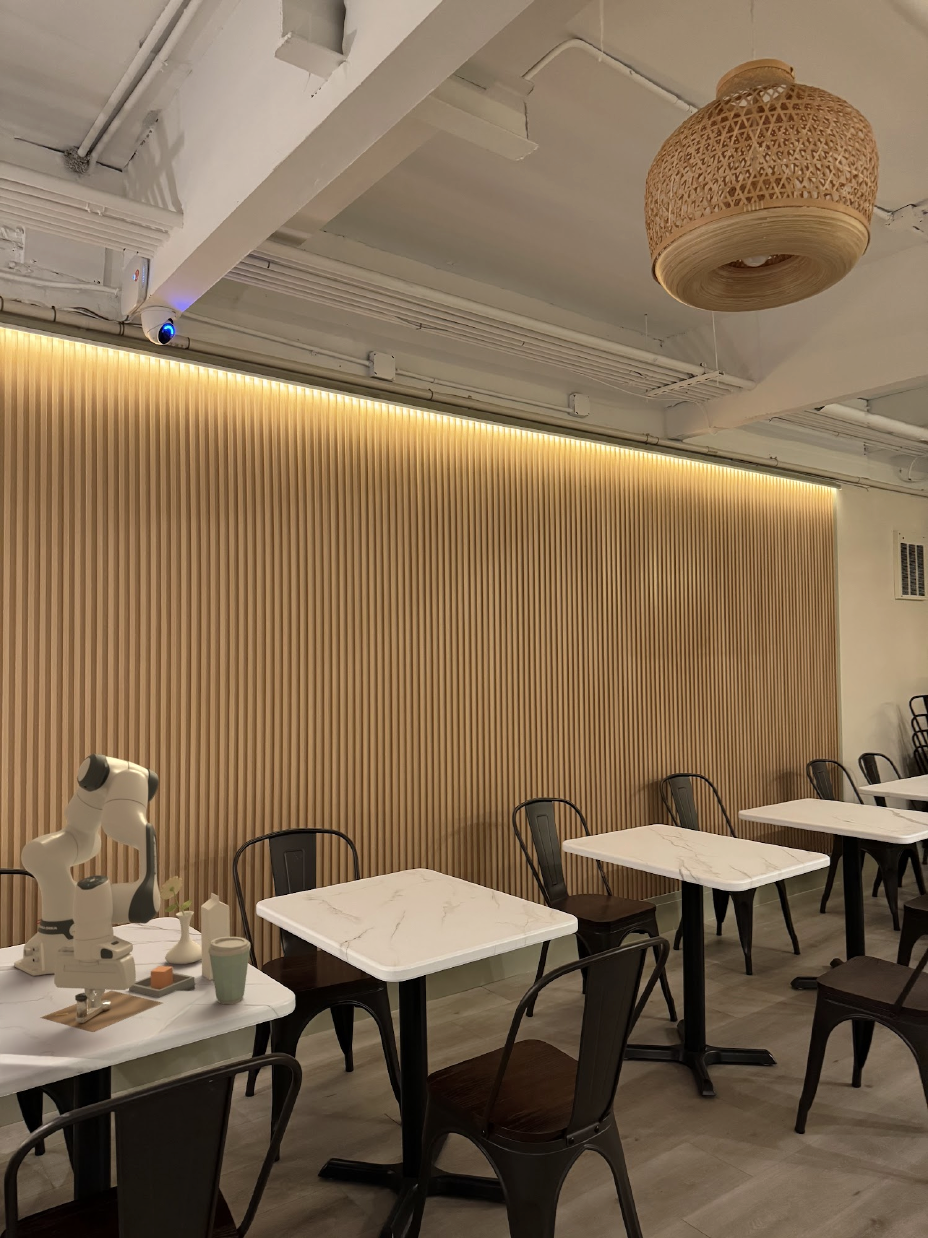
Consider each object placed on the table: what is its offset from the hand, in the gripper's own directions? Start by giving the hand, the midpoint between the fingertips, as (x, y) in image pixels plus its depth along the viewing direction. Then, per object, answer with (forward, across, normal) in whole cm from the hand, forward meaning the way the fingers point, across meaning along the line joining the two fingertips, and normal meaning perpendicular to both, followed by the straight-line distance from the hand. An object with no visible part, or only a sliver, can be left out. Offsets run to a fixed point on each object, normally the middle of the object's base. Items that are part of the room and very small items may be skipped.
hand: (95, 1007), depth 208 cm
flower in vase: (+5, -7, +48) cm, 49 cm away
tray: (+5, +2, +25) cm, 25 cm away
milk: (+5, +9, +39) cm, 41 cm away
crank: (+3, -3, +4) cm, 6 cm away
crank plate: (+5, -4, +7) cm, 10 cm away
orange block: (+4, +2, +25) cm, 25 cm away
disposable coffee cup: (+6, +23, +22) cm, 33 cm away
